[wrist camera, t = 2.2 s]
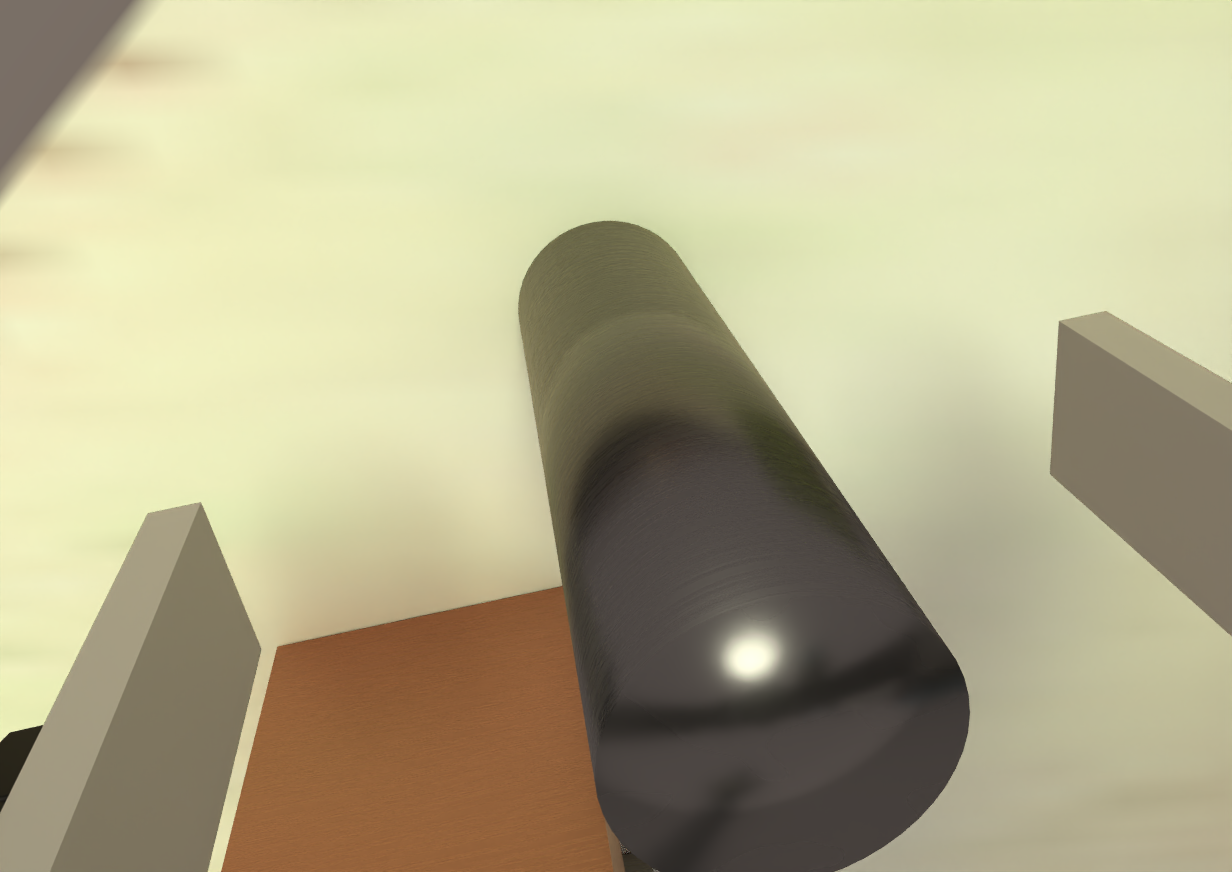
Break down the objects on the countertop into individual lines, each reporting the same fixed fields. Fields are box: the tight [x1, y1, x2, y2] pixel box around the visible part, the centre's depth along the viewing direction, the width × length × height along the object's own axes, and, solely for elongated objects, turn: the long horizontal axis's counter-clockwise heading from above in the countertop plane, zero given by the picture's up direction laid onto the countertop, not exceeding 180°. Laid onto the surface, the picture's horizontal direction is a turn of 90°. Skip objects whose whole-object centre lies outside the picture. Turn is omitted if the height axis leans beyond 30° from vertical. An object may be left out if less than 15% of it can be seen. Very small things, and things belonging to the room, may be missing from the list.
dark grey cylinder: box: [518, 221, 970, 872], centre depth 17 cm, size 4×4×14 cm
